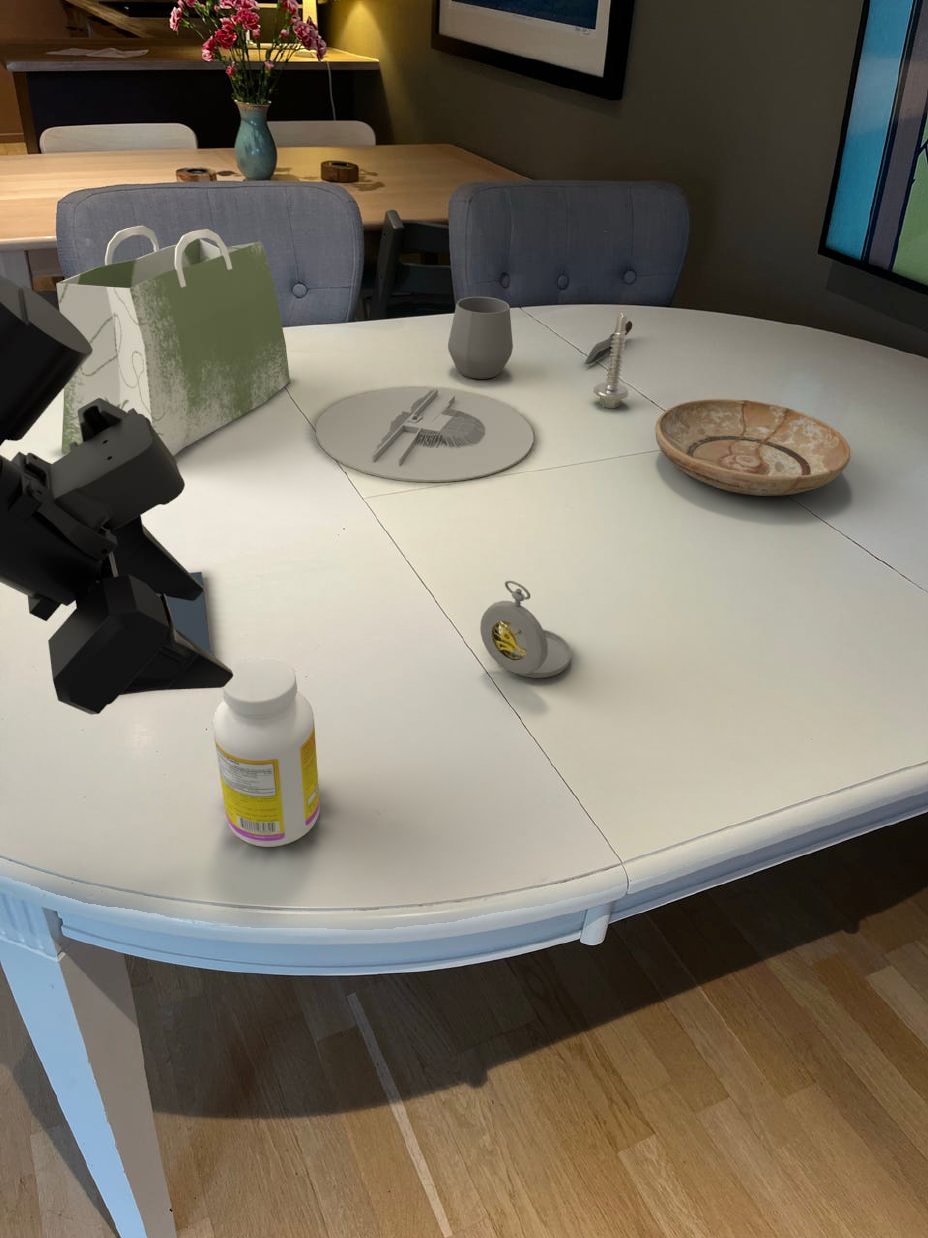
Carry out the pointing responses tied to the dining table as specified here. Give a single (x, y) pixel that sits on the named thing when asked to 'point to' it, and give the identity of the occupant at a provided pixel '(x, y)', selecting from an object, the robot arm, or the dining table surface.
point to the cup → (481, 337)
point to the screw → (614, 368)
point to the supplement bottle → (267, 754)
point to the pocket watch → (522, 639)
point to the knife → (604, 346)
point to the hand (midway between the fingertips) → (212, 634)
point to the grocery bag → (176, 336)
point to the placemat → (191, 616)
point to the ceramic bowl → (751, 446)
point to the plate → (424, 434)
